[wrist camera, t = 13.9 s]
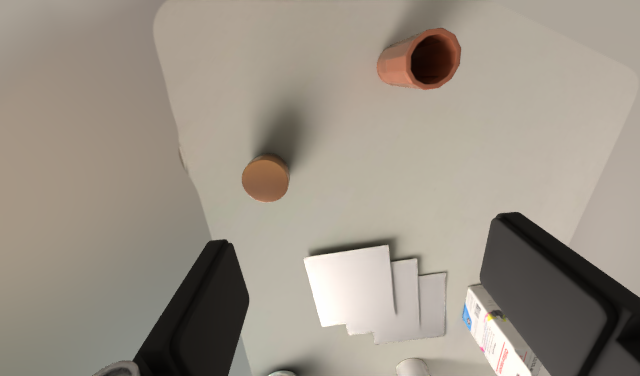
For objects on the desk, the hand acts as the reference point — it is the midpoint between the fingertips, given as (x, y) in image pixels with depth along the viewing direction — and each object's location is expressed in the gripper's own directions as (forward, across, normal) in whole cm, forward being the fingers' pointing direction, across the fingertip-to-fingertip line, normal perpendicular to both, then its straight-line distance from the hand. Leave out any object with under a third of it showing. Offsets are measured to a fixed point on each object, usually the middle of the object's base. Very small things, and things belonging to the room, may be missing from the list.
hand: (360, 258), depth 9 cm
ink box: (+26, -24, +35) cm, 50 cm away
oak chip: (+24, +9, +6) cm, 27 cm away
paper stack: (+26, -6, +33) cm, 42 cm away
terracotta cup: (+27, -8, -6) cm, 29 cm away
